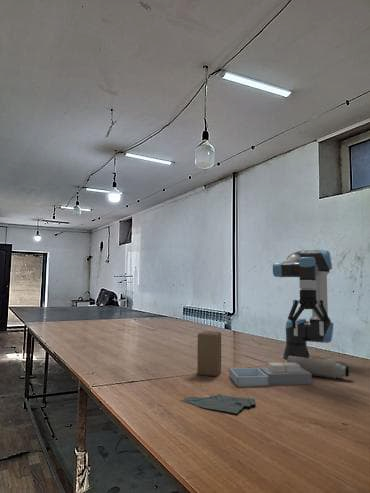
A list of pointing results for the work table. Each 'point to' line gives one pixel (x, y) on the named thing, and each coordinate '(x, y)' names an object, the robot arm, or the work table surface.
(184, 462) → the work table surface
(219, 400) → the decorative slab
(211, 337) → the wooden block
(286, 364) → the tile
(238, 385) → the tray
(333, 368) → the thermos bottle
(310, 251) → the robot arm
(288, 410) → the work table surface
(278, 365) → the tile
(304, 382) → the board
